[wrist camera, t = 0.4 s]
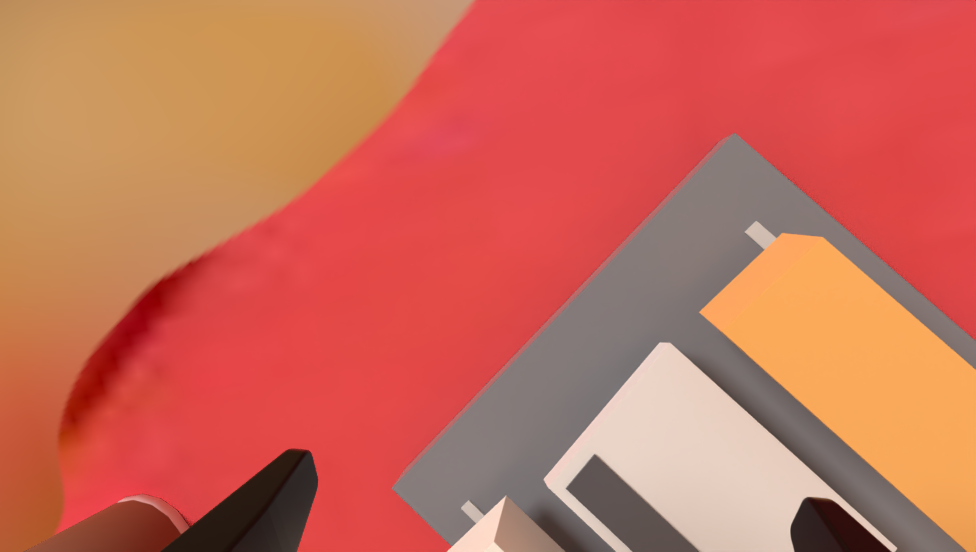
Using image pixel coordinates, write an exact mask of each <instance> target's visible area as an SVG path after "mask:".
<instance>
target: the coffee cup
mask: <svg viewBox="0 0 976 552" xmlns="http://www.w3.org/2000/svg"><path fill="white" fill-rule="evenodd" d="M188 528H189V526H188V524H187V523H186V521H185V520H184V519H183V517H182V516H181V515H180V513H179V512H178V511H177V510H176V509H175V508H173V507H172V506H171V505H169V504H168V503H166V502H165V501H163V500H162V499H161V498H157V497H153V496H149V495H145V494H139V495H133V496H128V497H125V498H124V499H122V500H120V501H119V502H117V503H115V504H113V505H112V506H110V507H108V508H106V509H104V510H102V511H100V512H98V513H96V514H94V515H93V516H91V517H89V518H87V519H85V520H83V521H81V522H79V523H77V524H75V525H73V526H72V527H70V528H68V529H66V530H64V531H62V532H60V533H58V534H56V535H54V536H53V537H51V538H49V539H47V540H45V541H43V542H41V543H39V544H37V545H35V546H34V547H32V548H30V549H28V550H26V551H24V552H159V551H161V550H162V549H163V548H164V547H166V546H167V545H168V544H169V543H171V542H172V541H173V540H174V539H176V538H177V537H178V536H179V535H181V534H182V533H183V532H184V531H186V530H187V529H188Z"/></svg>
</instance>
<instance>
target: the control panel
mask: <svg viewBox="0 0 976 552" xmlns="http://www.w3.org/2000/svg"><path fill="white" fill-rule="evenodd" d="M782 233H786V234H797V235H807V236H817V237H823V238H825V239H826V240H827V241H828V242H829V243H830V244H831V245H833V246H834V247H835V248H836V249H837V250H838V251H840V252H841V253H842V254H843V255H844V256H845V257H846V258H848V259H849V260H850V261H851V262H852V263H853V264H854V265H856V266H857V267H858V268H859V269H860V270H861V271H863V272H864V273H865V274H866V275H867V276H868V277H869V278H871V279H872V280H873V281H874V282H875V283H876V284H878V285H879V286H880V287H881V288H882V289H883V290H884V291H886V292H887V293H888V294H889V295H890V296H891V297H892V298H894V299H895V300H896V301H897V302H898V303H899V304H901V305H902V306H903V307H904V308H905V309H906V310H907V311H909V312H910V313H911V314H912V315H913V316H914V317H916V318H917V319H918V320H919V321H920V322H921V323H922V324H924V325H925V326H926V327H927V328H928V329H929V330H930V331H932V332H933V333H934V334H935V335H936V336H937V337H939V338H940V339H941V340H942V341H943V342H944V343H945V344H947V345H948V346H949V347H950V348H951V349H952V350H954V351H955V352H956V353H957V354H958V355H959V356H960V357H962V358H963V359H964V360H965V361H966V362H967V363H968V364H970V365H971V366H972V367H973V368H974V369H975V370H976V341H975V340H974V339H973V338H972V337H970V336H969V335H968V334H967V333H966V332H965V331H963V330H962V329H961V328H960V327H959V326H958V325H957V324H955V323H954V322H953V321H952V320H951V319H950V318H948V317H947V316H946V315H945V314H944V313H943V312H941V311H940V310H939V309H938V308H937V307H936V306H935V305H933V304H932V303H931V302H930V301H929V300H928V299H926V298H925V297H924V296H923V295H922V294H921V293H920V292H918V291H917V290H916V289H915V288H914V287H913V286H911V285H910V284H909V283H908V282H907V281H906V280H904V279H903V278H902V277H901V276H900V275H899V274H898V273H896V272H895V271H894V270H893V269H892V268H891V267H889V266H888V265H887V264H886V263H885V262H884V261H882V260H881V259H880V258H879V257H878V256H877V255H876V254H874V253H873V252H872V251H871V250H870V249H869V248H867V247H866V246H865V245H864V244H863V243H862V242H860V241H859V240H858V239H857V238H856V237H855V236H854V235H852V234H851V233H850V232H849V231H848V230H847V229H845V228H844V227H843V226H842V225H841V224H840V223H839V222H837V221H836V220H835V219H834V218H833V217H832V216H830V215H829V214H828V213H827V212H826V211H825V210H823V209H822V208H821V207H820V206H819V205H818V204H817V203H815V202H814V201H813V200H812V199H811V198H810V197H808V196H807V195H806V194H805V193H804V192H803V191H801V190H800V189H799V188H798V187H797V186H796V185H795V184H793V183H792V182H791V181H790V180H789V179H788V178H786V177H785V176H784V175H783V174H782V173H781V172H780V171H778V170H777V169H776V168H775V167H774V166H773V165H771V164H770V163H769V162H768V161H767V160H766V159H764V158H763V157H762V156H761V155H760V154H759V153H758V152H756V151H755V150H754V149H753V148H752V147H751V146H749V145H748V144H747V143H746V142H745V141H744V140H742V139H741V138H740V137H739V136H738V135H737V134H736V133H733V134H731V135H730V136H728V137H726V138H724V139H722V140H720V141H719V142H718V143H717V144H716V145H715V146H714V148H713V149H712V150H711V151H710V152H709V153H708V154H707V155H706V156H705V157H704V158H703V159H702V160H701V161H700V162H699V163H698V164H697V165H696V166H695V167H694V168H693V169H692V170H691V171H690V172H689V174H688V175H687V176H686V177H685V178H684V179H683V180H682V181H681V182H680V183H679V184H678V185H677V186H676V187H675V188H674V189H673V190H672V191H671V192H670V193H669V194H668V195H667V196H666V197H665V199H664V200H663V201H662V202H661V203H660V204H659V205H658V206H657V207H656V208H655V209H654V210H653V211H652V212H651V213H650V214H649V215H648V216H647V217H646V218H645V219H644V220H643V221H642V222H641V224H640V225H639V226H638V227H637V228H636V229H635V230H634V231H633V232H632V233H631V234H630V235H629V236H628V237H627V238H626V239H625V240H624V241H623V242H622V243H621V244H620V245H619V246H618V247H617V248H616V250H615V251H614V252H613V253H612V254H611V255H610V256H609V257H608V258H607V259H606V260H605V261H604V262H603V263H602V264H601V265H600V266H599V267H598V268H597V269H596V270H595V271H594V272H593V273H592V275H591V276H590V277H589V278H588V279H587V280H586V281H585V282H584V283H583V284H582V285H581V286H580V287H579V288H578V289H577V290H576V291H575V292H574V293H573V294H572V295H571V296H570V297H569V298H568V300H567V301H566V302H565V303H564V304H563V305H562V306H561V307H560V308H559V309H558V310H557V311H556V312H555V313H554V314H553V315H552V316H551V317H550V318H549V319H548V320H547V321H546V322H545V323H544V324H543V326H542V327H541V328H540V329H539V330H538V331H537V332H536V333H535V334H534V335H533V336H532V337H531V338H530V339H529V340H528V341H527V342H526V343H525V344H524V345H523V346H522V347H521V348H520V349H519V351H518V352H517V353H516V354H515V355H514V356H513V357H512V358H511V359H510V360H509V361H508V362H507V363H506V364H505V365H504V366H503V367H502V368H501V369H500V370H499V371H498V372H497V373H496V374H495V375H494V377H493V378H492V379H491V380H490V381H489V382H488V383H487V384H486V385H485V386H484V387H483V388H482V389H481V390H480V391H479V392H478V393H477V394H476V395H475V396H474V397H473V398H472V399H471V400H470V402H469V403H468V404H467V405H466V406H465V407H464V408H463V409H462V410H461V411H460V412H459V413H458V414H457V415H456V416H455V417H454V418H453V419H452V420H451V421H450V422H449V423H448V424H447V425H446V427H445V428H444V429H443V430H442V431H441V432H440V433H439V434H438V435H437V436H436V437H435V438H434V439H433V440H432V441H431V442H430V443H429V444H428V445H427V446H426V447H425V448H424V449H423V450H422V451H421V453H420V454H419V455H418V456H417V457H416V458H415V459H414V460H413V461H412V462H411V463H410V464H409V465H408V466H407V467H406V468H405V470H404V471H403V473H402V474H401V476H400V477H399V479H398V480H397V481H396V483H395V484H394V486H393V487H392V489H393V490H394V491H395V492H396V493H397V494H398V495H399V496H400V497H401V498H402V499H403V500H404V501H405V502H406V503H407V504H408V505H409V506H410V507H411V508H412V509H413V510H414V511H416V512H417V513H418V514H419V515H420V516H421V517H422V518H423V519H424V520H425V521H426V522H427V523H428V524H429V525H430V526H431V527H432V528H433V529H434V530H435V531H436V532H437V533H438V534H439V535H440V536H441V537H442V538H443V539H444V540H446V541H447V542H448V543H449V544H450V545H451V546H453V545H454V544H456V543H457V542H458V541H459V540H460V539H461V538H462V537H463V536H464V535H465V534H466V533H467V532H468V531H469V530H470V529H471V528H472V527H473V526H474V525H475V524H477V523H478V522H479V521H480V520H481V519H482V518H483V517H484V516H485V515H486V514H487V513H488V512H489V511H490V510H491V509H492V508H493V507H494V506H495V505H497V504H498V503H499V502H500V501H501V500H502V499H503V498H504V497H505V496H507V497H508V498H509V499H511V500H512V501H513V502H514V503H515V504H516V505H517V506H518V507H519V508H520V509H521V510H522V511H523V512H524V513H525V514H526V515H527V516H528V517H529V518H531V519H532V520H533V521H534V522H535V523H536V524H537V525H538V526H539V527H540V528H541V529H542V530H543V531H544V532H545V533H546V534H547V535H548V536H549V537H551V538H552V539H553V540H554V541H555V542H556V543H557V544H558V545H559V546H560V547H561V548H562V549H563V550H564V551H565V552H616V551H615V550H614V549H613V548H612V547H611V546H610V545H609V544H607V543H606V542H605V541H604V540H603V539H602V538H601V537H600V536H599V535H598V534H597V533H596V532H595V531H594V530H593V529H592V528H591V527H589V526H588V525H587V524H586V523H585V522H584V521H583V520H582V519H581V518H580V517H579V516H578V515H577V514H576V513H575V512H574V511H573V510H571V509H570V508H569V507H568V506H567V505H566V504H565V503H564V502H563V501H562V500H561V499H560V498H559V497H558V496H557V495H556V494H555V493H553V492H552V491H551V490H550V489H549V488H548V487H547V485H546V483H545V481H544V478H545V477H546V476H547V474H548V473H549V472H550V471H551V470H552V468H553V467H554V466H555V465H556V464H557V463H558V461H559V460H560V459H561V458H562V457H563V456H564V454H565V453H566V452H567V451H568V450H569V448H570V447H571V446H572V445H573V444H574V443H575V441H576V440H577V439H578V438H579V437H580V436H581V434H582V433H583V432H584V431H585V430H586V428H587V427H588V426H589V425H590V424H591V423H592V421H593V420H594V419H595V418H596V417H597V416H598V414H599V413H600V412H601V411H602V410H603V408H604V407H605V406H606V405H607V404H608V403H609V401H610V400H611V399H612V398H613V397H614V396H615V394H616V393H617V392H618V391H619V390H620V388H621V387H622V386H623V385H624V384H625V383H626V381H627V380H628V379H629V378H630V377H631V376H632V374H633V373H634V372H635V371H636V370H637V368H638V367H639V366H640V365H641V364H642V363H643V361H644V360H645V359H646V358H647V357H648V356H649V354H650V353H651V352H652V351H653V350H654V348H655V347H656V346H657V345H658V344H659V343H660V342H661V343H671V344H672V345H673V346H674V347H675V348H677V349H678V350H679V351H680V352H681V353H682V354H683V355H684V356H685V357H687V358H688V359H689V360H690V361H691V362H692V363H693V364H694V365H695V366H696V367H698V368H699V369H700V370H701V371H702V372H703V373H704V374H705V375H706V376H708V377H709V378H710V379H711V380H712V381H713V382H714V383H715V384H716V385H717V386H719V387H720V388H721V389H722V390H723V391H724V392H725V393H726V394H727V395H729V396H730V397H731V398H732V399H733V400H734V401H735V402H736V403H737V404H739V405H740V406H741V407H742V408H743V409H744V410H745V411H746V412H747V413H748V414H750V415H751V416H752V417H753V418H754V419H755V420H756V421H757V422H758V423H760V424H761V425H762V426H763V427H764V428H765V429H766V430H767V431H768V432H769V433H771V434H772V435H773V436H774V437H775V438H776V439H777V440H778V441H779V442H781V443H782V444H783V445H784V446H785V447H786V448H787V449H788V450H789V451H790V452H792V453H793V454H794V455H795V456H796V457H797V458H798V459H799V460H800V461H802V462H803V463H804V464H805V465H806V466H807V467H808V468H809V469H810V470H811V471H813V472H814V473H815V474H816V475H817V476H818V477H819V478H820V479H821V480H823V481H824V482H825V483H826V484H827V485H828V486H829V487H830V488H831V489H833V490H834V491H835V492H836V493H837V494H838V495H839V496H840V497H841V498H842V499H844V500H845V501H846V502H847V503H848V504H849V505H850V506H851V507H852V508H854V509H855V510H856V511H857V512H858V513H859V514H860V515H861V516H862V517H863V518H865V519H866V520H867V521H868V522H869V523H870V524H871V525H872V526H873V527H875V528H876V529H877V530H878V531H879V532H880V533H881V534H882V535H883V536H884V537H886V538H887V539H888V540H889V541H890V542H891V543H892V544H893V545H894V546H896V547H897V549H896V551H895V552H966V550H964V549H963V548H962V547H961V546H960V545H959V544H958V543H956V542H955V541H954V540H953V539H952V538H951V537H950V536H948V535H947V534H946V533H945V532H944V531H943V530H942V529H940V528H939V527H938V526H937V525H936V524H935V523H934V522H932V521H931V520H930V519H929V518H928V517H927V516H926V515H925V514H923V513H922V512H921V511H920V510H919V509H918V508H917V507H916V506H914V505H913V504H912V503H911V502H910V501H909V500H908V499H907V498H906V497H904V496H903V495H902V494H901V493H900V492H899V491H898V490H897V489H895V488H894V487H893V486H892V485H891V484H890V483H889V482H888V481H887V480H885V479H884V478H883V477H882V476H881V475H880V474H879V473H878V472H877V471H875V470H874V469H873V468H872V467H871V466H870V465H869V464H868V463H866V462H865V461H864V460H863V459H862V458H861V457H860V456H859V455H858V454H856V453H855V452H854V451H853V450H852V449H851V448H850V447H849V446H847V445H846V444H845V443H844V442H843V441H842V440H841V439H840V438H839V437H837V436H836V435H835V434H834V433H833V432H832V431H831V430H830V429H829V428H827V427H826V426H825V425H824V424H823V423H822V422H821V421H820V420H818V419H817V418H816V417H815V416H814V415H813V414H812V413H811V412H810V411H808V410H807V409H806V408H805V407H804V406H803V405H802V404H801V403H799V402H798V401H797V400H796V399H795V398H794V397H793V396H792V395H791V394H789V393H788V392H787V391H786V390H785V389H784V388H783V387H782V386H781V385H779V384H778V383H777V382H776V381H775V380H774V379H773V378H772V377H770V376H769V375H768V374H767V373H766V372H765V371H764V370H763V369H762V368H760V367H759V366H758V365H757V364H756V363H755V362H754V361H753V360H751V359H750V358H749V357H748V356H747V355H746V354H745V353H744V352H743V351H741V350H740V349H739V348H738V347H737V346H736V345H735V344H734V343H733V342H731V341H730V340H729V339H728V338H727V337H726V336H725V335H724V334H722V333H721V332H720V331H719V330H718V329H717V328H716V327H715V326H714V325H712V324H711V323H710V322H709V321H708V320H707V319H706V318H705V317H704V316H702V315H701V314H700V313H699V312H700V311H701V310H702V309H703V308H704V307H705V306H706V305H707V304H708V303H709V302H710V301H711V300H712V299H713V298H714V297H715V296H716V295H718V294H719V293H720V292H721V291H722V290H723V289H724V288H725V287H726V286H727V285H728V284H729V283H730V282H731V281H732V280H733V279H734V278H735V277H736V276H738V275H739V274H740V273H741V272H742V271H743V270H744V269H745V268H746V267H747V266H748V265H749V264H750V263H751V262H752V261H753V260H754V259H755V258H756V257H758V256H759V255H760V254H761V253H762V252H763V251H764V250H765V249H766V248H767V247H768V246H769V245H770V244H771V243H772V242H773V241H774V240H775V239H776V238H778V237H779V236H780V235H781V234H782Z"/></svg>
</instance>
